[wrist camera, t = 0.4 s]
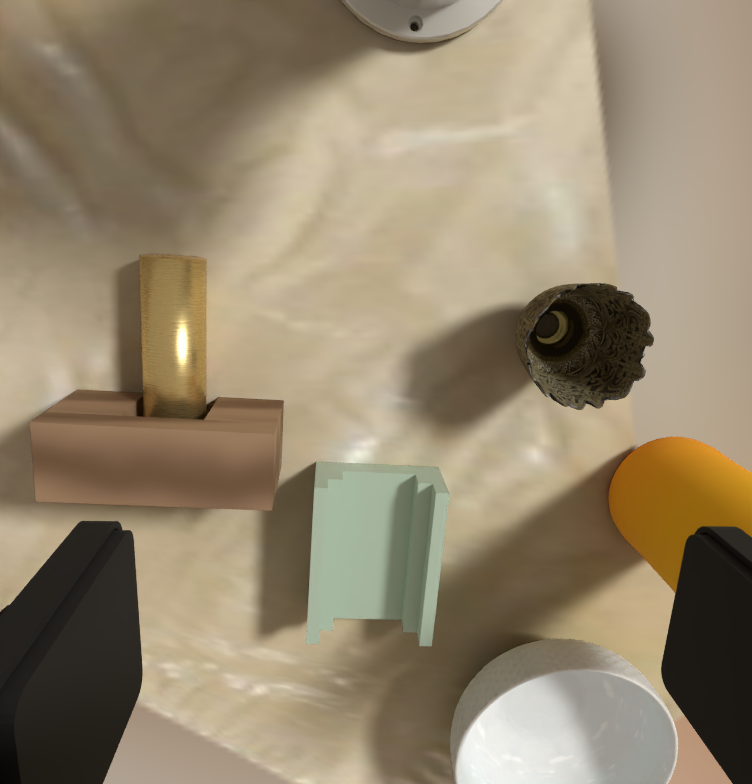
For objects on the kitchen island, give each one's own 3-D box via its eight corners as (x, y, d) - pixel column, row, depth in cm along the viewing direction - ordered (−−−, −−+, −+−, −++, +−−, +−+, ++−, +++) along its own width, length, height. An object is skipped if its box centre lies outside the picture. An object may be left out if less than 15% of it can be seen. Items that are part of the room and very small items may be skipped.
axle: (150, 253, 41) (130, 257, 37) (212, 257, 41) (198, 262, 37) (155, 478, 45) (137, 503, 41) (211, 481, 45) (198, 506, 42)
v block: (316, 461, 45) (314, 487, 41) (438, 467, 46) (449, 493, 42) (308, 605, 48) (306, 643, 44) (423, 608, 49) (431, 646, 45)
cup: (508, 262, 42) (547, 272, 35) (610, 281, 43) (671, 296, 35) (483, 367, 44) (514, 399, 36) (581, 384, 45) (632, 419, 37)
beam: (77, 389, 43) (29, 422, 36) (283, 400, 44) (274, 434, 37) (81, 457, 44) (35, 501, 37) (281, 466, 45) (272, 510, 38)
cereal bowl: (396, 700, 52) (406, 774, 45) (545, 568, 49) (580, 625, 42) (530, 804, 56) (558, 886, 49) (675, 687, 53) (725, 756, 46)
